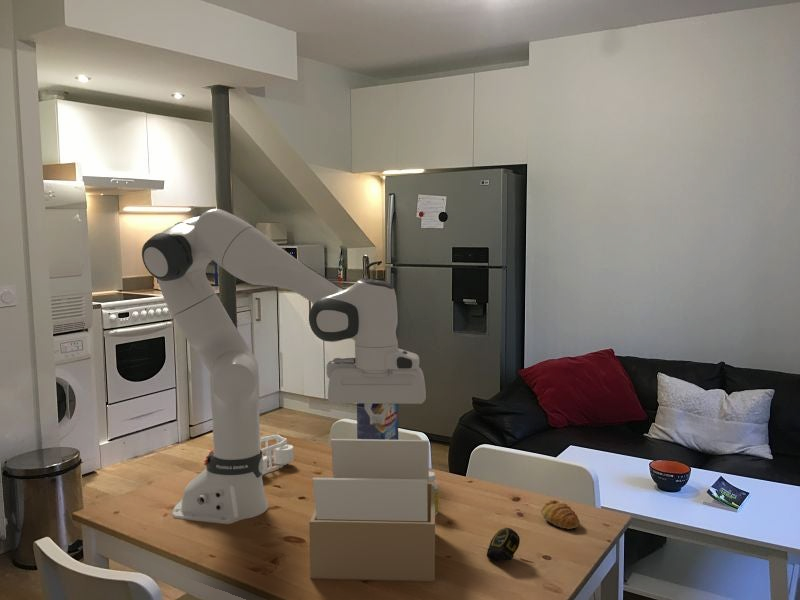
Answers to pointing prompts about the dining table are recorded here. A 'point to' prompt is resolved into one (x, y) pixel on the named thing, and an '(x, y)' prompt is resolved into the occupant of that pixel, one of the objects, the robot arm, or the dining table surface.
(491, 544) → the tape measure
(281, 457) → the wheeled car silhouette
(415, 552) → the carton
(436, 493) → the supplement bottle
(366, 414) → the juice carton
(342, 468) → the far flap
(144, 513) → the dining table surface
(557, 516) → the pastry
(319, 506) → the near flap
